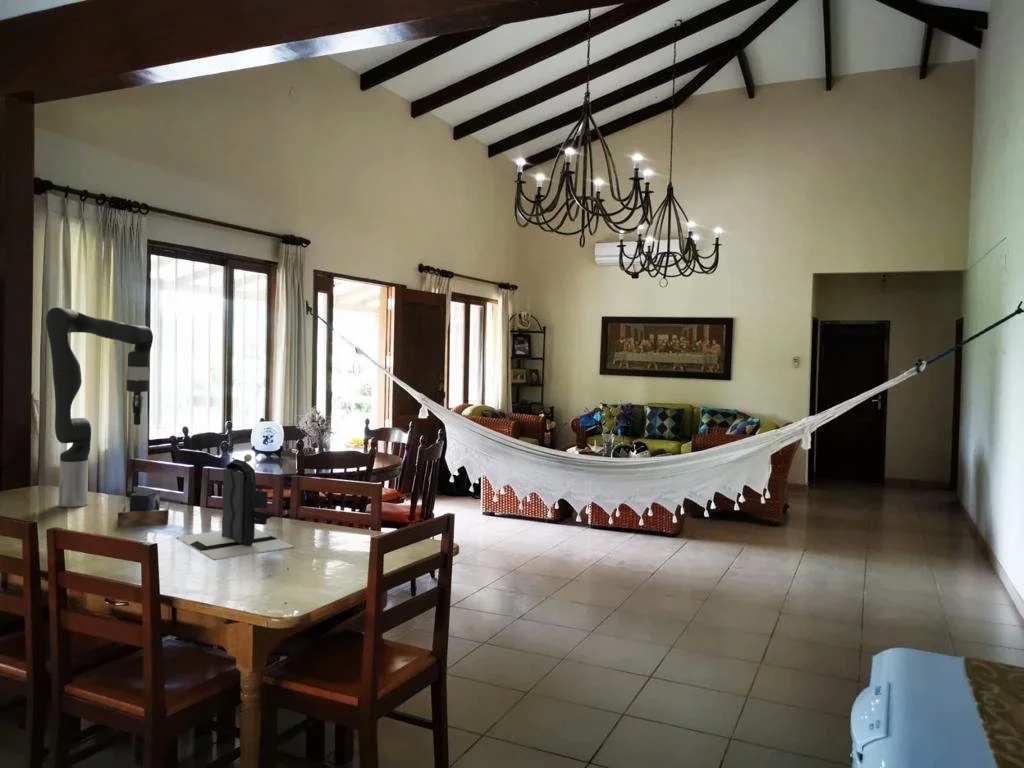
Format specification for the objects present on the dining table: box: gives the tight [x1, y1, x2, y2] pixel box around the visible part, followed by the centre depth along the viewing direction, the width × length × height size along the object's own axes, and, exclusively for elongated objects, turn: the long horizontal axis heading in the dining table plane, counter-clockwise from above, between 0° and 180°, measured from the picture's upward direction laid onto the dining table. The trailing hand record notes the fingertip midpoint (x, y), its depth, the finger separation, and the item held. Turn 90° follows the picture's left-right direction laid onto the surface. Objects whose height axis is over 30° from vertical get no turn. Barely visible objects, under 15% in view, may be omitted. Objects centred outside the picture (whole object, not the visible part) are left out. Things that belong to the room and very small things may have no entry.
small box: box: [129, 489, 161, 512], centre depth 267 cm, size 11×6×10 cm, turn 2°
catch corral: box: [117, 501, 170, 528], centre depth 268 cm, size 15×15×5 cm
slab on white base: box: [176, 453, 295, 561], centre depth 243 cm, size 32×25×28 cm
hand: (137, 424), depth 286 cm, fingers closed
